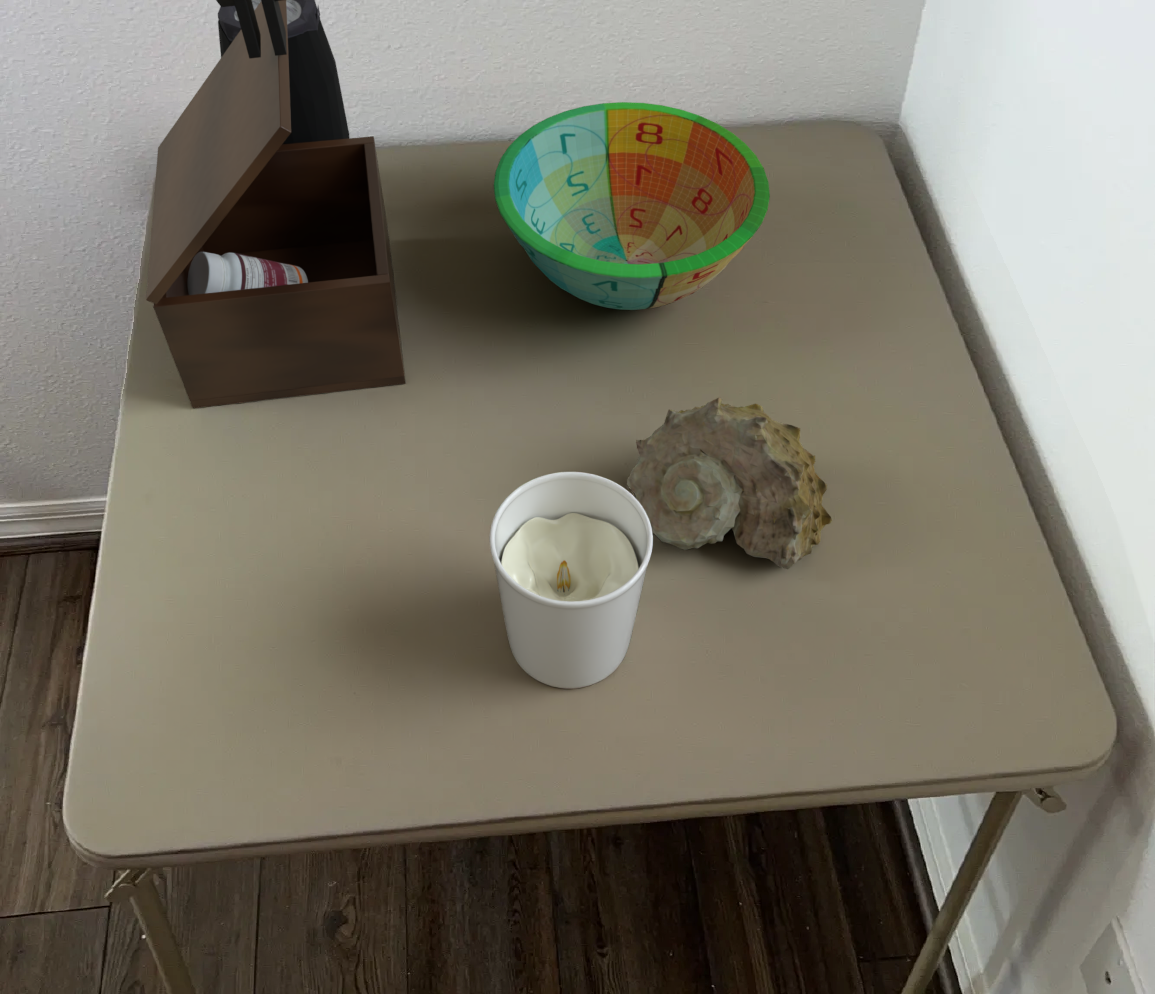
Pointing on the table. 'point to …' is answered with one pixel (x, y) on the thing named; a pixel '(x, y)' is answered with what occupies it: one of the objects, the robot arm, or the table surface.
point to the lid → (217, 152)
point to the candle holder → (570, 575)
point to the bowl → (630, 201)
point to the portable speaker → (303, 72)
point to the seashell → (731, 482)
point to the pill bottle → (238, 273)
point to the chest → (295, 286)
